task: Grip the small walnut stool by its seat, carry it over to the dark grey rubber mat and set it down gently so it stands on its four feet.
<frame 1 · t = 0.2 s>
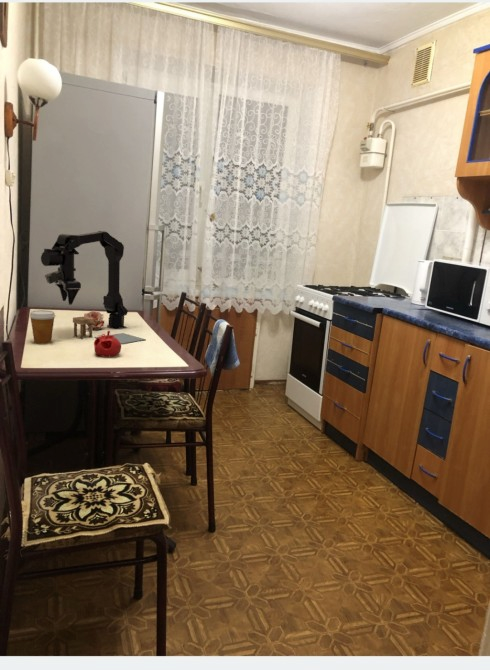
hand: (67, 302, 214), 14 cm above the table, tool pointing down, fingers open, 9 cm apart
mat: (120, 339, 216), on the table
stool: (83, 336, 216), on the table
pomegranate: (107, 355, 191), on the table
flower: (94, 329, 232), on the table
disposable coffee cup: (42, 342, 202), on the table
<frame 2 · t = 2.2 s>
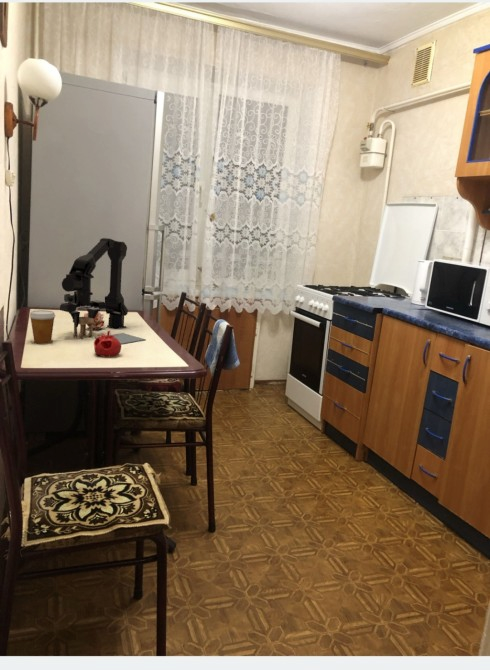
hand: (83, 326, 215), 5 cm above the table, tool pointing down, fingers closed on stool, 6 cm apart
stool: (83, 336, 216), on the table, touching gripper
everything else where it was.
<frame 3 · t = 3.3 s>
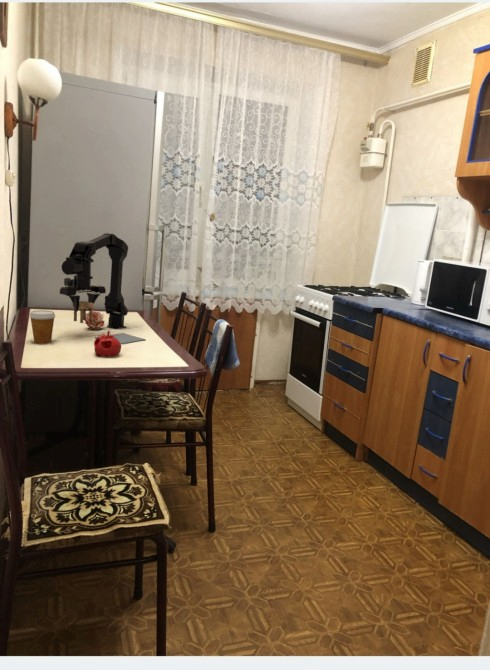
hand: (83, 310, 213), 11 cm above the table, tool pointing down, fingers closed on stool, 6 cm apart
stool: (83, 321, 214), point 7 cm above the table, touching gripper
everything else where it was.
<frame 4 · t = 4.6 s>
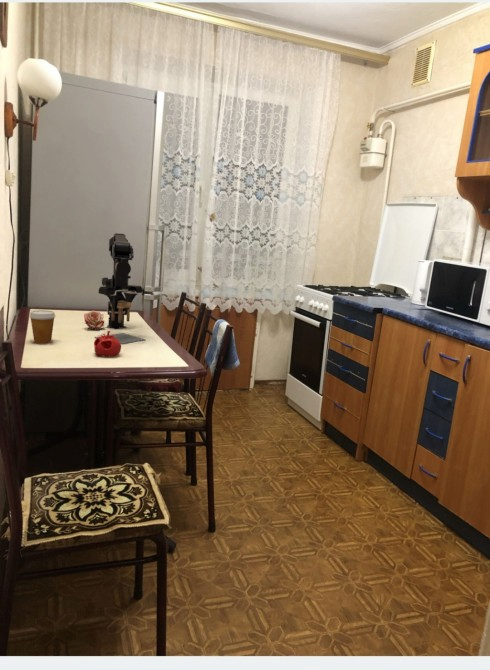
hand: (120, 310, 214), 12 cm above the table, tool pointing down, fingers closed on stool, 6 cm apart
stool: (120, 320, 215), point 8 cm above the table, touching gripper
everything else where it was.
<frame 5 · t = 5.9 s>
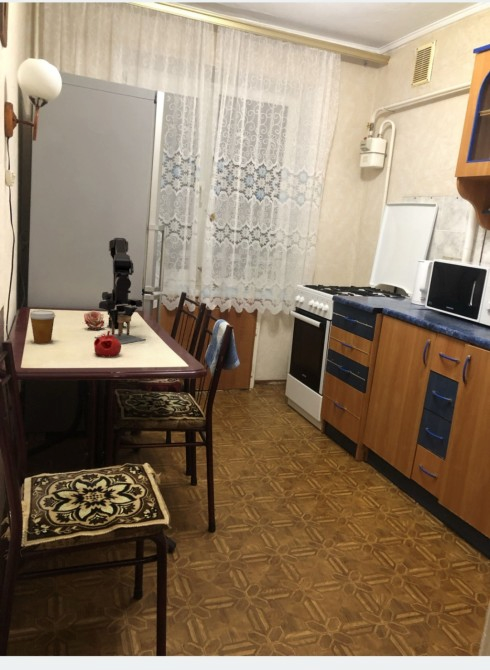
hand: (120, 324, 215), 6 cm above the table, tool pointing down, fingers closed on stool, 6 cm apart
stool: (120, 334, 216), point 2 cm above the table, touching gripper
everything else where it was.
when the fingers open (6 cm above the table, at t = 6.9 s): stool drops 1 cm, resting on mat.
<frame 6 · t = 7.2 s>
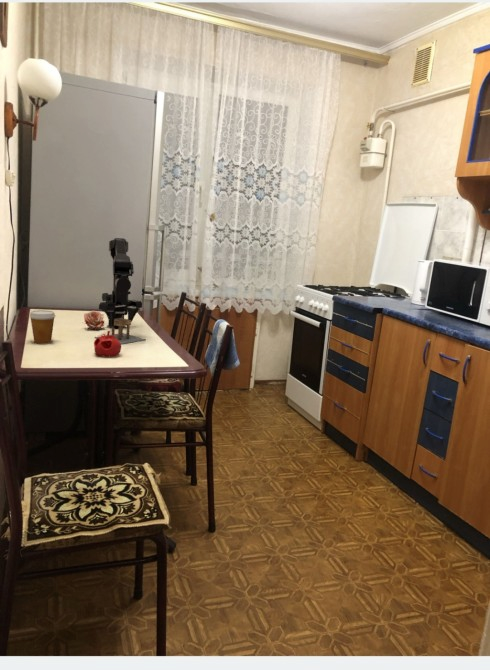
hand: (120, 325, 215), 6 cm above the table, tool pointing down, fingers open, 9 cm apart
stool: (120, 338, 216), resting on mat
everything else where it was.
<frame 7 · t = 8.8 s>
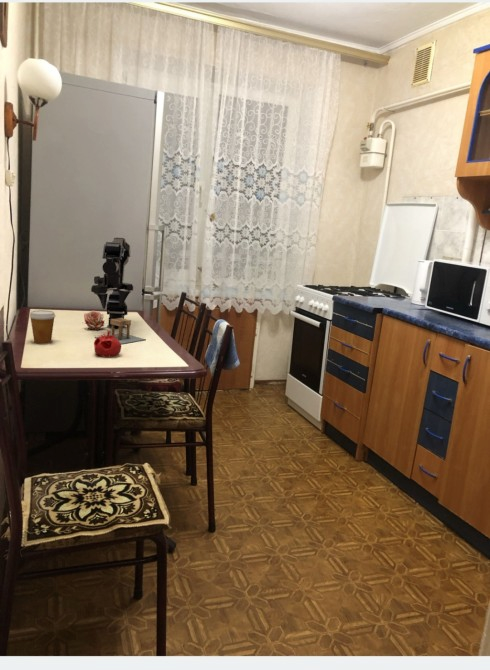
hand: (112, 307, 223), 12 cm above the table, tool pointing down, fingers open, 9 cm apart
nothing on the table moved.
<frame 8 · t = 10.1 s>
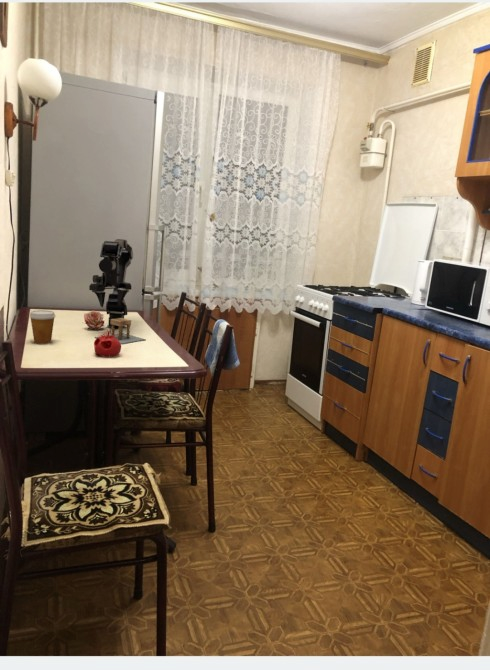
hand: (110, 306, 224), 12 cm above the table, tool pointing down, fingers open, 9 cm apart
nothing on the table moved.
at the end: stool inside the target area on the mat (0.0 cm from its centre), point 0.4 cm above the mat's base; stool tilted 0°; the gripper is holding nothing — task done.
